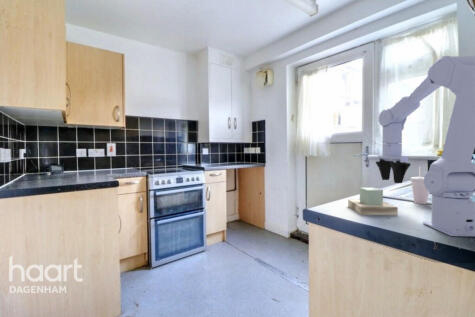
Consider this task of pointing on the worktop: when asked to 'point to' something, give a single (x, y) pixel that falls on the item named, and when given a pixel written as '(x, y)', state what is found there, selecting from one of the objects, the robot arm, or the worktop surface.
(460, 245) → the worktop surface
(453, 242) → the worktop surface
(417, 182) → the smoothie
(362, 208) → the birch block
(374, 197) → the sage cube
